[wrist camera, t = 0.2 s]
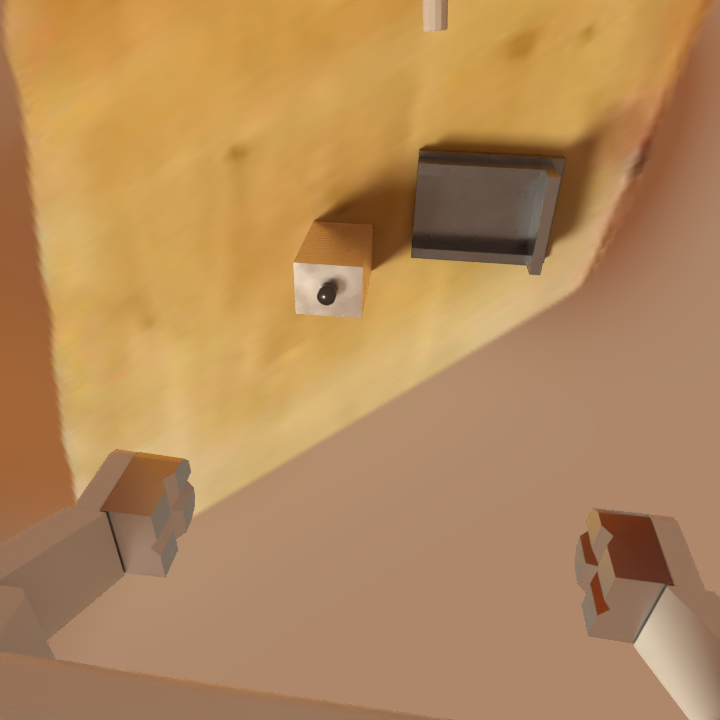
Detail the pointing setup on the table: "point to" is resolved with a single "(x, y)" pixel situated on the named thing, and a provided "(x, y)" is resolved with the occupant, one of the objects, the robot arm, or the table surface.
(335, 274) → the block
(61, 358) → the table surface
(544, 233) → the tray
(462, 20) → the table surface
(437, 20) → the pipe connector
